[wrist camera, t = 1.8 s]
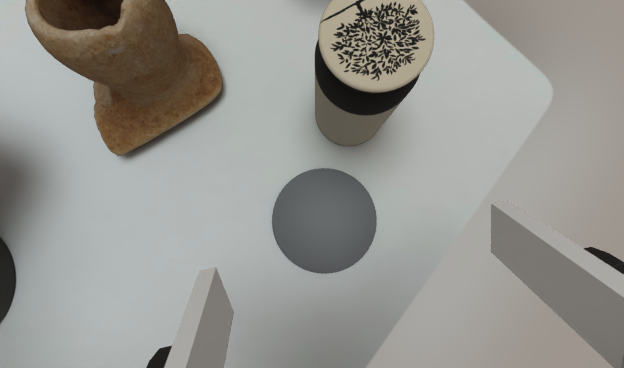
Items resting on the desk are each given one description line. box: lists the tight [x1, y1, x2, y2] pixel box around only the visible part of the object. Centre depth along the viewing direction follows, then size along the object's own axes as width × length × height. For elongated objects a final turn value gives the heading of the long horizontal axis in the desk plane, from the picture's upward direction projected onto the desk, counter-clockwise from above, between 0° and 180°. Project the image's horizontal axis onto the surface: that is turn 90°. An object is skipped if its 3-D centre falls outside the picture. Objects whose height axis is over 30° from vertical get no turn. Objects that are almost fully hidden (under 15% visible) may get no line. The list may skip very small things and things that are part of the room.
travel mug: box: [315, 0, 434, 146], centre depth 30 cm, size 8×8×18 cm
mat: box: [272, 168, 376, 273], centre depth 38 cm, size 12×12×1 cm
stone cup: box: [25, 0, 222, 156], centre depth 32 cm, size 15×12×15 cm
